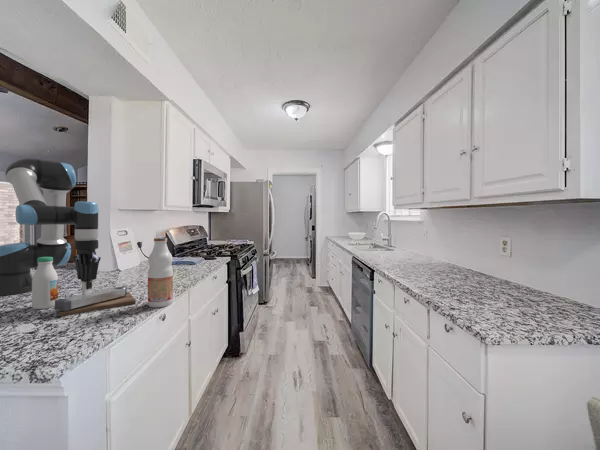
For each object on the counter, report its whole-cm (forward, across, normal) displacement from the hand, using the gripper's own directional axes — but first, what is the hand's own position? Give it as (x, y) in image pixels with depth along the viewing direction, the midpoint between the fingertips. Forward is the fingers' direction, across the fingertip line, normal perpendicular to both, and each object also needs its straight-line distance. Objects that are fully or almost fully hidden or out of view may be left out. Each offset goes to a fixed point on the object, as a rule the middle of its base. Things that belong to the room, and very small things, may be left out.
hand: (87, 296), depth 110 cm
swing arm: (+1, -4, -1) cm, 4 cm away
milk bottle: (+4, +14, +7) cm, 16 cm away
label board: (+4, -3, -2) cm, 5 cm away
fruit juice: (+4, -26, -12) cm, 29 cm away
